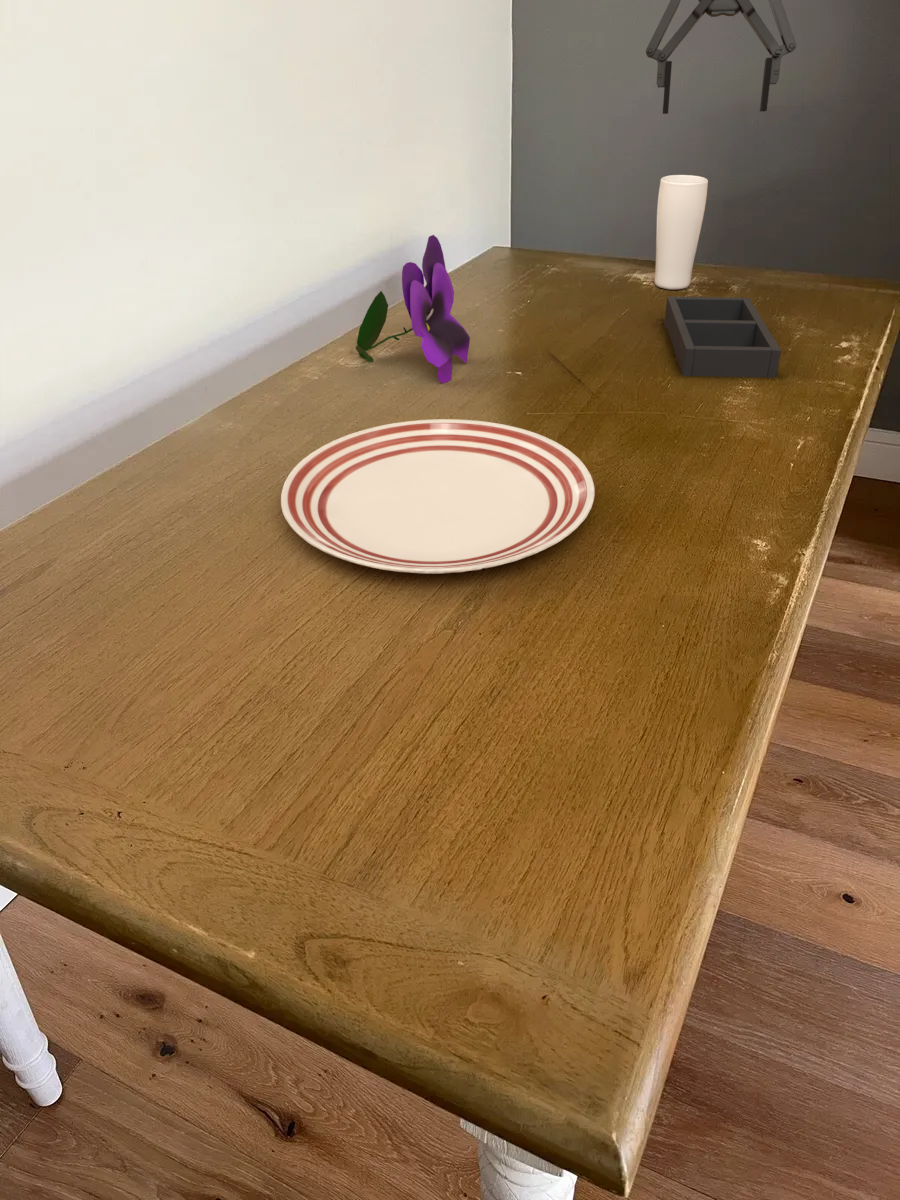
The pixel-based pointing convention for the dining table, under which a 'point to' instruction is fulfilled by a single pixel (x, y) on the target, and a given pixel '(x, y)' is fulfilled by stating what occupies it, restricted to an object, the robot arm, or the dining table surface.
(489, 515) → the dinner plate
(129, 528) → the dining table surface
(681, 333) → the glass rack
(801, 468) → the dining table surface
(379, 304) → the flower
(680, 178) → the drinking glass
